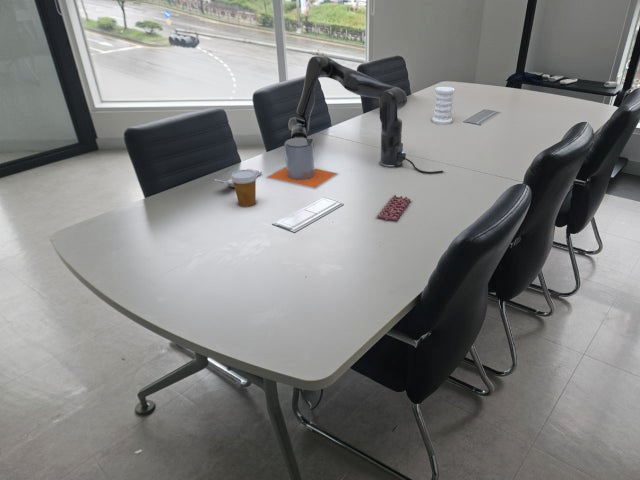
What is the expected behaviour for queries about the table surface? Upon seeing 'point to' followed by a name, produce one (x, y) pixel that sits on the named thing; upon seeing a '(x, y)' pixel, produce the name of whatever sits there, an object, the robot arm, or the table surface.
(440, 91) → the decorative container
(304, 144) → the crock
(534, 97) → the table surface
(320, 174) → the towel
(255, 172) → the grey white handled utensil
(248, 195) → the disposable coffee cup
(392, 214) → the red flat knobbed bar
